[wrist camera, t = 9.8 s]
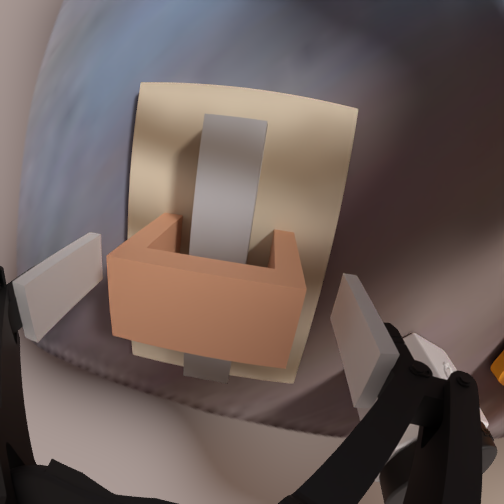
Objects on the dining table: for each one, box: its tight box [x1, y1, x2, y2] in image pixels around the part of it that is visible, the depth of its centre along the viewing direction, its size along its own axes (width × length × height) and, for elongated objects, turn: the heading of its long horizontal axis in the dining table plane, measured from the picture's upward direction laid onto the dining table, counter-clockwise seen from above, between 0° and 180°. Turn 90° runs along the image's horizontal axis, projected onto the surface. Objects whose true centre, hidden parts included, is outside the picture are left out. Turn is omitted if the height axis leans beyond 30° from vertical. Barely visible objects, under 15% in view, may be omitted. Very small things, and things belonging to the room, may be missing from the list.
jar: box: [357, 333, 497, 504], centre depth 18 cm, size 9×8×12 cm
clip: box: [107, 213, 307, 369], centre depth 16 cm, size 4×8×8 cm, turn 82°
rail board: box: [128, 82, 358, 384], centre depth 18 cm, size 20×13×4 cm, turn 172°
